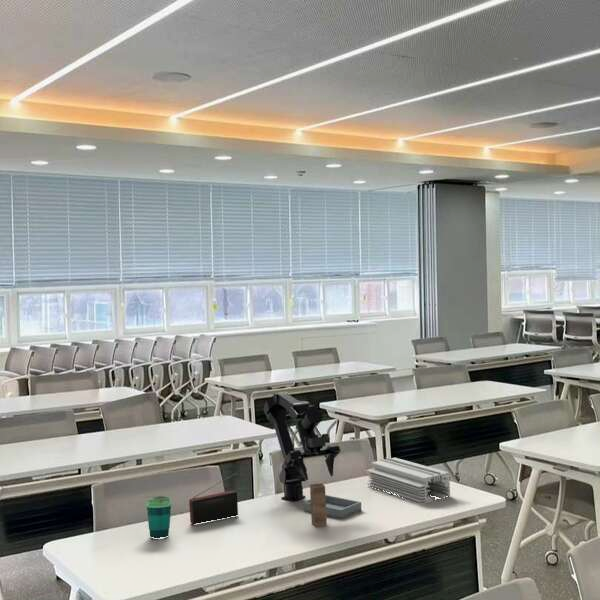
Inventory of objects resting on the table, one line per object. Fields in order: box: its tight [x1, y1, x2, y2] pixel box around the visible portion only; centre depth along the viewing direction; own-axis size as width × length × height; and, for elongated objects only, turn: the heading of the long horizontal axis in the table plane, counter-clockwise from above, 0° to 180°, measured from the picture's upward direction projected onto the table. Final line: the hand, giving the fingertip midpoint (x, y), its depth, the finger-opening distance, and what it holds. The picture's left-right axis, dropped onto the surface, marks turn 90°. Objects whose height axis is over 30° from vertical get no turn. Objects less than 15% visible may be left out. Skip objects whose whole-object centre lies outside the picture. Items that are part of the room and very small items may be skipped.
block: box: [309, 482, 328, 528], centre depth 258 cm, size 4×4×13 cm
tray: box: [302, 494, 362, 520], centre depth 273 cm, size 17×11×3 cm, turn 48°
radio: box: [188, 471, 240, 525], centre depth 268 cm, size 19×3×15 cm, turn 120°
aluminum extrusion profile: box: [366, 456, 451, 505], centre depth 292 cm, size 14×31×10 cm, turn 32°
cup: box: [145, 495, 173, 538], centre depth 254 cm, size 8×8×12 cm
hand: (319, 478), depth 266 cm, fingers open, 9 cm apart
